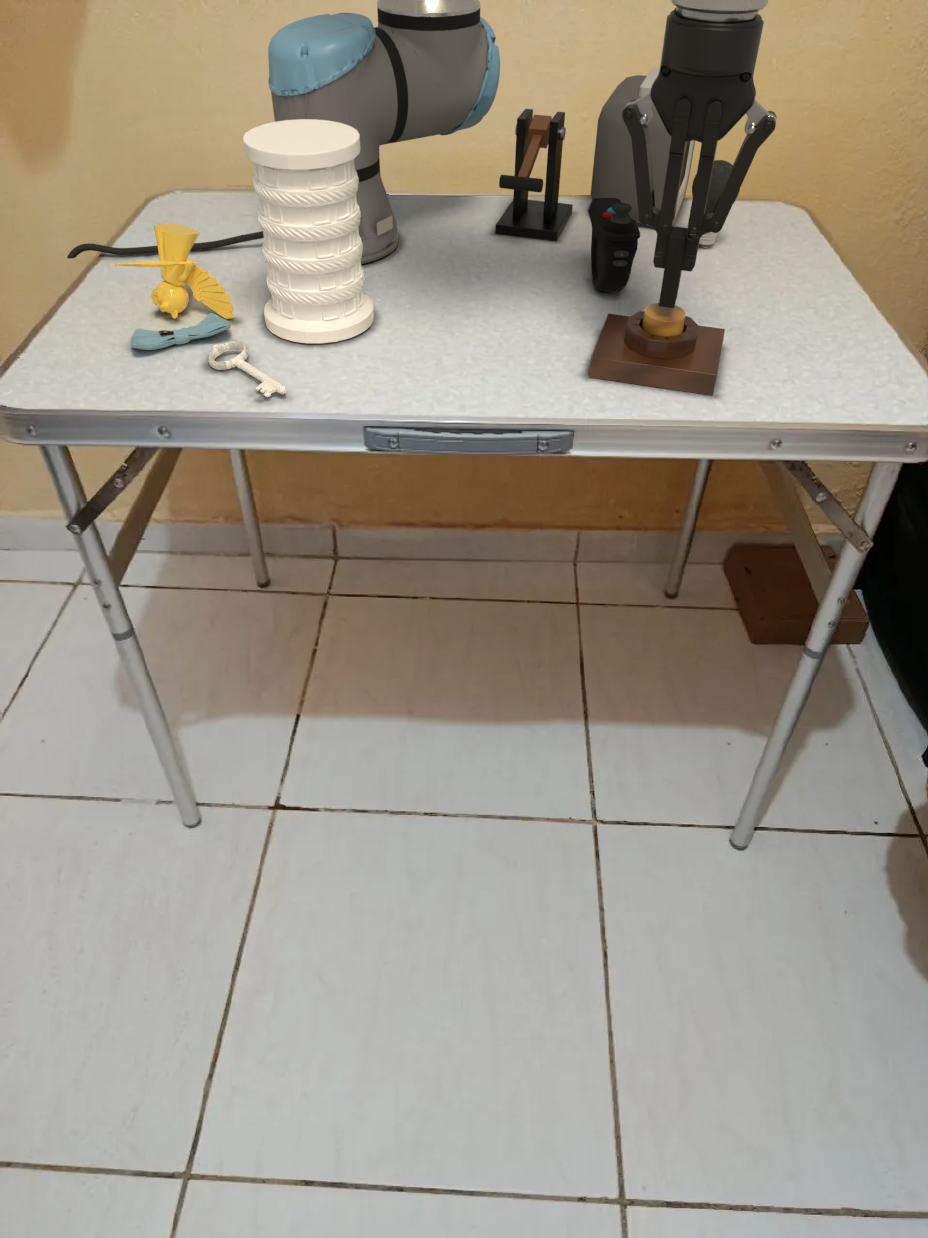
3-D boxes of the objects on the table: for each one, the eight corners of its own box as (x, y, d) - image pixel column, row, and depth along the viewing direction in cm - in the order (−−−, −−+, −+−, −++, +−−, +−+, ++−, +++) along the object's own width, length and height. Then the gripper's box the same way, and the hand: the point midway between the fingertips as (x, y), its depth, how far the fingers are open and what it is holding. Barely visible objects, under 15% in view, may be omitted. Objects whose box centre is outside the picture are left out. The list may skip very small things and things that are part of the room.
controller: (595, 308, 101) (606, 215, 95) (579, 263, 110) (588, 175, 104) (634, 307, 102) (647, 214, 95) (614, 262, 111) (625, 175, 104)
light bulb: (725, 238, 116) (742, 154, 110) (729, 256, 112) (748, 169, 106) (680, 236, 117) (694, 152, 110) (683, 254, 113) (698, 167, 106)
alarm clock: (670, 234, 117) (693, 98, 107) (583, 223, 120) (597, 89, 109) (686, 192, 129) (708, 65, 118) (606, 183, 131) (620, 58, 120)
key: (196, 353, 91) (231, 333, 93) (199, 361, 92) (234, 341, 93) (265, 398, 85) (301, 375, 86) (268, 406, 85) (304, 384, 87)
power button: (639, 335, 89) (641, 317, 88) (644, 317, 92) (647, 300, 91) (680, 340, 88) (683, 323, 87) (684, 322, 91) (688, 305, 90)
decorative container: (383, 298, 102) (374, 120, 90) (362, 347, 94) (349, 158, 81) (281, 292, 103) (258, 115, 91) (251, 339, 95) (222, 151, 82)
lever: (540, 198, 108) (540, 180, 106) (499, 194, 109) (498, 175, 107) (562, 135, 113) (563, 116, 111) (523, 131, 114) (522, 112, 112)
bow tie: (130, 345, 95) (136, 360, 91) (125, 329, 94) (131, 344, 90) (226, 324, 98) (236, 338, 94) (222, 309, 97) (232, 322, 93)
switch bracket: (556, 241, 115) (565, 129, 106) (495, 233, 117) (499, 123, 108) (572, 213, 122) (581, 106, 113) (513, 206, 124) (518, 101, 115)
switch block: (589, 377, 90) (593, 339, 87) (605, 332, 97) (610, 296, 94) (712, 395, 88) (721, 357, 85) (720, 348, 95) (728, 311, 92)
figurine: (131, 244, 86) (131, 337, 90) (238, 244, 94) (233, 329, 98) (66, 212, 92) (69, 301, 96) (172, 214, 100) (171, 296, 104)
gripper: (626, 14, 71) (593, 308, 87) (801, 25, 68) (734, 327, 84) (640, -4, 76) (606, 277, 92) (802, 6, 73) (739, 293, 89)
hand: (667, 301), depth 88 cm, fingers closed
